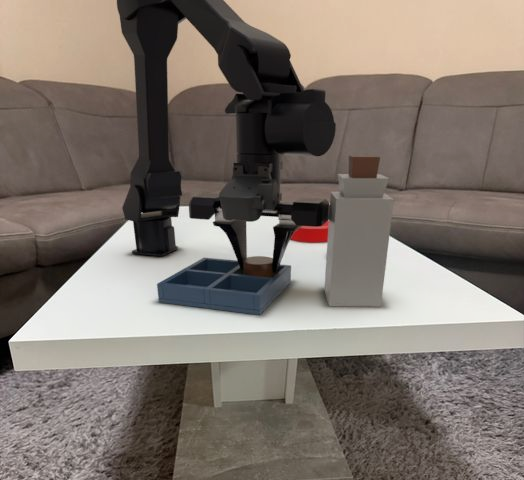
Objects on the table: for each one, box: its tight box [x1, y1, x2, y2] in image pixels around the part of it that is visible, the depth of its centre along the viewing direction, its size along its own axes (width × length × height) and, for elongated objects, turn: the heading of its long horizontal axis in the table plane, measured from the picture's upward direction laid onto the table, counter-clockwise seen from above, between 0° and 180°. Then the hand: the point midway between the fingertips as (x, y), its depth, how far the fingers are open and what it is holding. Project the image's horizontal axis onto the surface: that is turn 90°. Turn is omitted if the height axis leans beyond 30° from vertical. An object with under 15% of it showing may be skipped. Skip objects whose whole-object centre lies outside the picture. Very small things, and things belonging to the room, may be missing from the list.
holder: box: [156, 257, 292, 316], centre depth 65 cm, size 14×14×3 cm
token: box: [243, 255, 275, 278], centre depth 66 cm, size 5×5×2 cm
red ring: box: [290, 220, 329, 243], centre depth 97 cm, size 10×10×3 cm
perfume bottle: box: [324, 155, 395, 308], centre depth 59 cm, size 7×7×18 cm
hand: (258, 270), depth 66 cm, fingers closed on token, 4 cm apart
